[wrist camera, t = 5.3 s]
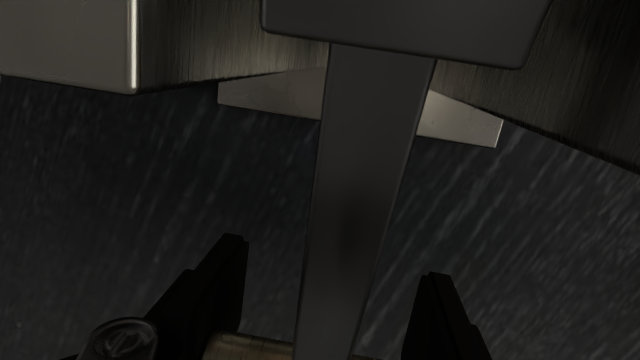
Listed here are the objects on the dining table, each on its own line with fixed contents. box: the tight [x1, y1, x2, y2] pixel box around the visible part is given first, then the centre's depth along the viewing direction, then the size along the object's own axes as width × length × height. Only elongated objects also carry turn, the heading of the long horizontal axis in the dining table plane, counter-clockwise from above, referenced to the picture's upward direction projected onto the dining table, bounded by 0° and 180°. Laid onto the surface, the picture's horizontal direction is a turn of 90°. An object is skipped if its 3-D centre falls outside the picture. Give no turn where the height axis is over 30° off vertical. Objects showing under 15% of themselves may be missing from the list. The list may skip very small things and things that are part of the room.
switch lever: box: [199, 0, 553, 360], centre depth 6 cm, size 11×5×2 cm, turn 172°
